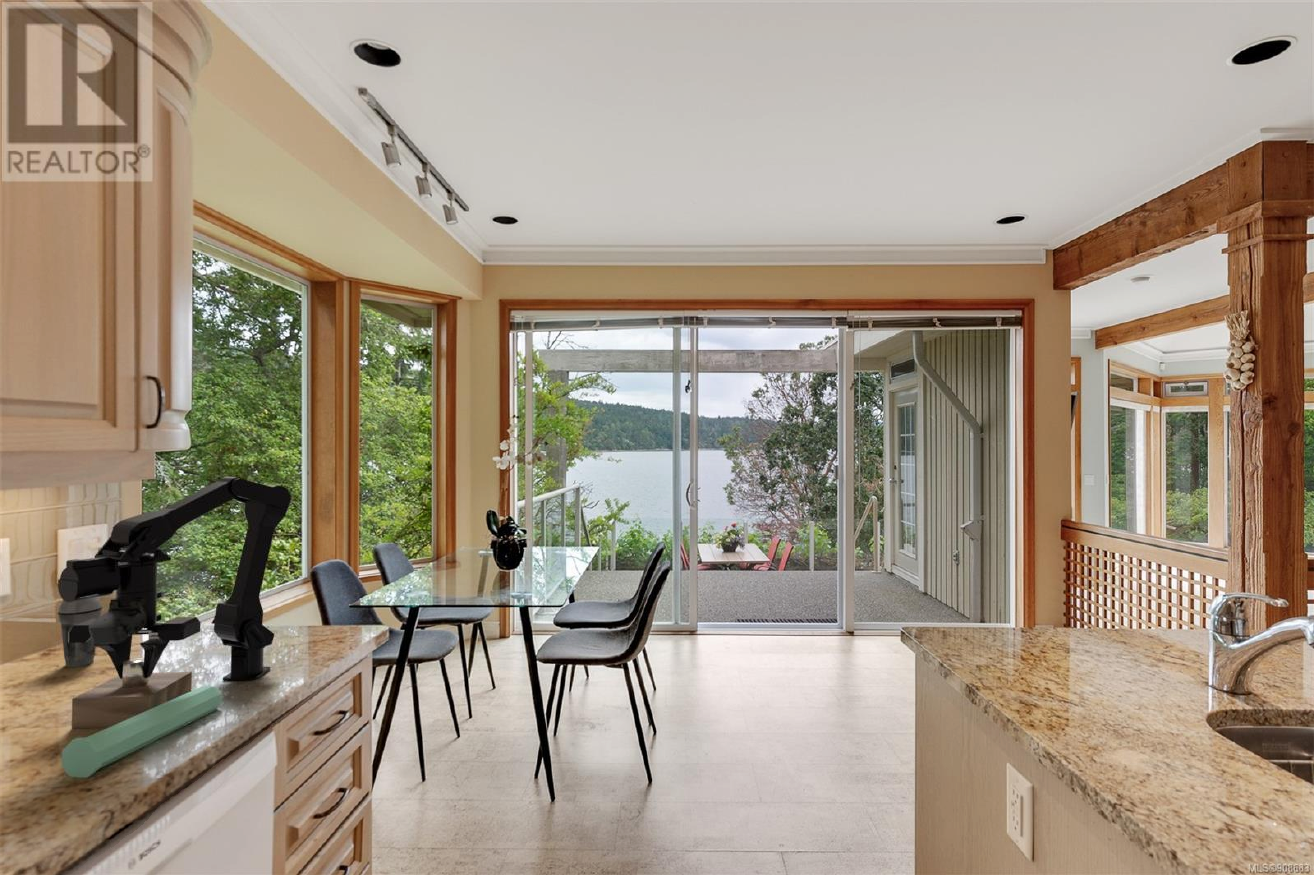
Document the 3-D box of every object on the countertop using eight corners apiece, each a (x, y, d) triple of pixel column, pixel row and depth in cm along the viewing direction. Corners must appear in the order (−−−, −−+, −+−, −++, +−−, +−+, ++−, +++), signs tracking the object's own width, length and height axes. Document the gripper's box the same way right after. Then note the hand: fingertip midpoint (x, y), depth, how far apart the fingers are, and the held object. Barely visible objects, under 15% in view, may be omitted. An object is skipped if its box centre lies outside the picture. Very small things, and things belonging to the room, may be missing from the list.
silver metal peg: (131, 705, 118) (131, 658, 118) (152, 704, 118) (153, 657, 118) (116, 713, 114) (117, 664, 114) (139, 712, 115) (139, 664, 115)
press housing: (122, 700, 122) (122, 673, 122) (191, 698, 123) (191, 671, 123) (71, 728, 110) (72, 698, 110) (148, 726, 111) (149, 696, 111)
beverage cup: (47, 668, 138) (48, 573, 138) (83, 657, 145) (84, 567, 146) (75, 670, 137) (77, 575, 137) (110, 659, 144) (112, 568, 144)
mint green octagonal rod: (207, 674, 119) (69, 732, 94) (234, 688, 119) (103, 750, 94) (194, 703, 119) (54, 769, 95) (222, 718, 119) (88, 787, 94)
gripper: (42, 601, 108) (40, 697, 107) (163, 600, 109) (162, 693, 109) (93, 586, 119) (91, 673, 118) (202, 585, 121) (201, 670, 120)
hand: (135, 677), depth 116 cm, fingers closed on silver metal peg, 4 cm apart
